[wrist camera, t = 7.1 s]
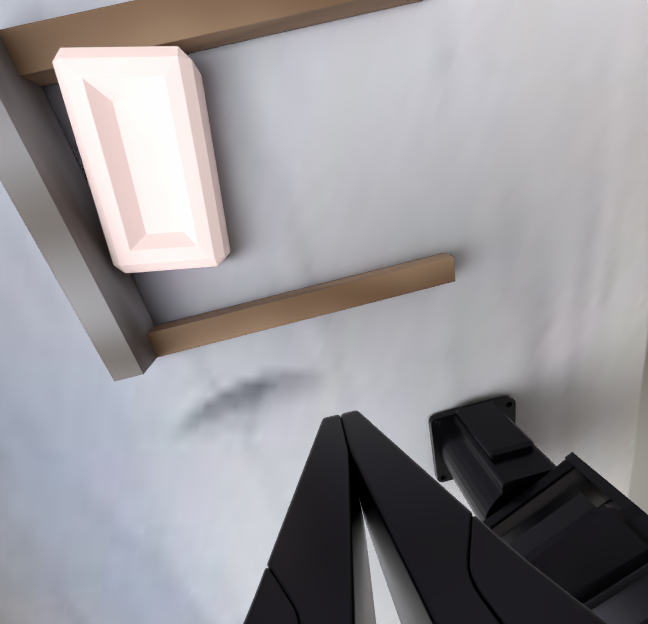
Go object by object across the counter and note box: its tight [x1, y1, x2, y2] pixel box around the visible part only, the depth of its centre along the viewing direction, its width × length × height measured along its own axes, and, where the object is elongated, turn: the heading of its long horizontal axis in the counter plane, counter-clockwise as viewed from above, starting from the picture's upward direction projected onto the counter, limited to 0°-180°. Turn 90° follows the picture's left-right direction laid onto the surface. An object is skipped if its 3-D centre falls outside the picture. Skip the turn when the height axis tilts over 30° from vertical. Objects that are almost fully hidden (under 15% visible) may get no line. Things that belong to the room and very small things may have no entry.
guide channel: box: [0, 0, 455, 381], centre depth 15 cm, size 15×19×3 cm
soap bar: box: [52, 46, 230, 273], centre depth 15 cm, size 5×9×2 cm, turn 3°
